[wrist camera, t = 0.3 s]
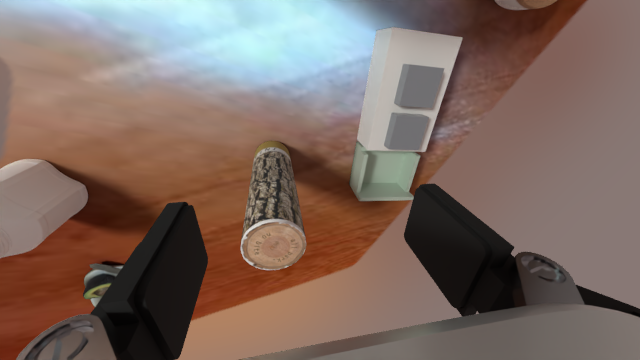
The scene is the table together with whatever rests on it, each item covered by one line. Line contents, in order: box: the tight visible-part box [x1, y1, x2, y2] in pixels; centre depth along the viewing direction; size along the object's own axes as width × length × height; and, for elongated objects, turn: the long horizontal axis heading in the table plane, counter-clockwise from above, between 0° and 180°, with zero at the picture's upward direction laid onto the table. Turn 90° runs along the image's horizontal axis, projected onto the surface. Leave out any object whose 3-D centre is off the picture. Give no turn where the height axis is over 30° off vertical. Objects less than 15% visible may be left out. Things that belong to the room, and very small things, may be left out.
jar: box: [0, 159, 88, 258], centre depth 35 cm, size 12×10×15 cm
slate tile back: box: [384, 112, 429, 150], centre depth 41 cm, size 6×6×2 cm
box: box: [349, 142, 420, 201], centre depth 48 cm, size 10×12×7 cm
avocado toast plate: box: [83, 264, 124, 307], centre depth 54 cm, size 19×18×5 cm
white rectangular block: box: [357, 27, 463, 152], centre depth 42 cm, size 19×12×6 cm, turn 174°
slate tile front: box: [394, 64, 444, 108], centre depth 37 cm, size 6×6×2 cm
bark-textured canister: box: [241, 141, 306, 270], centre depth 35 cm, size 7×7×25 cm
